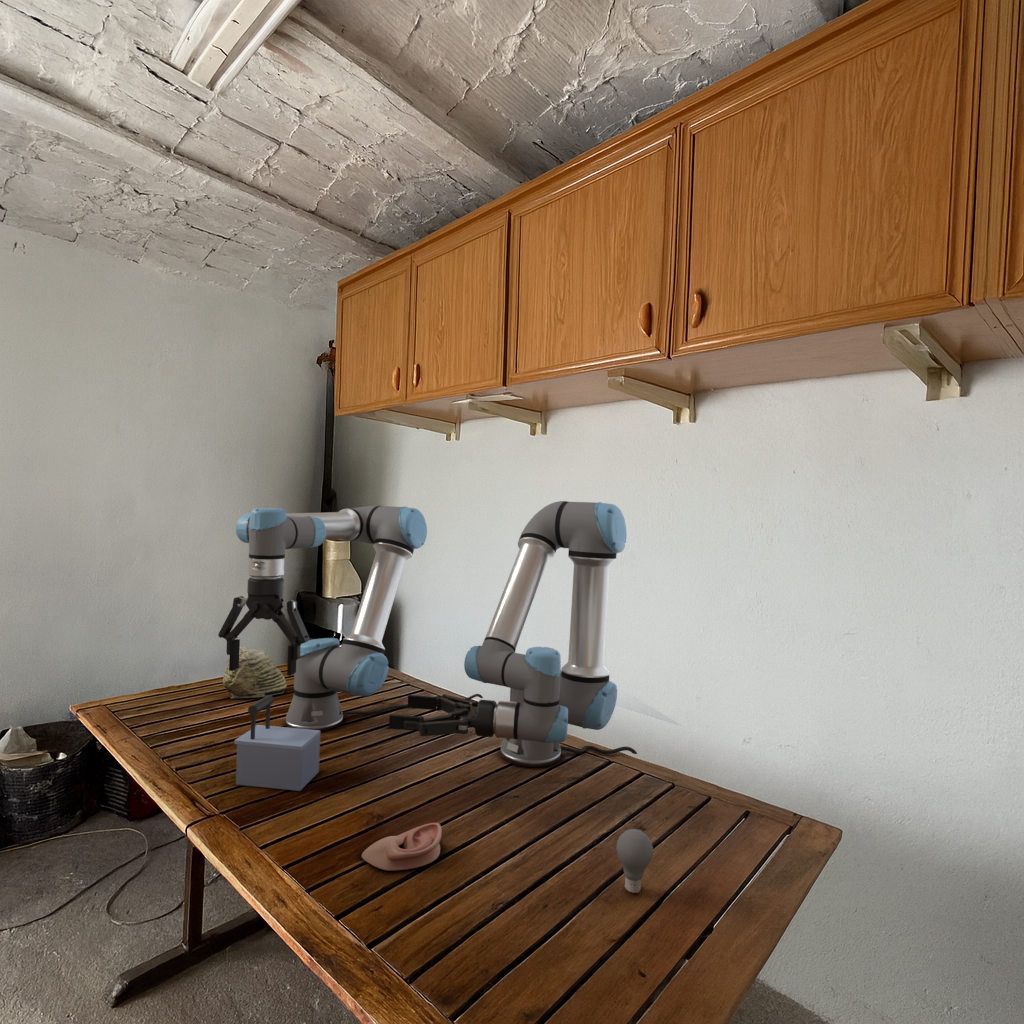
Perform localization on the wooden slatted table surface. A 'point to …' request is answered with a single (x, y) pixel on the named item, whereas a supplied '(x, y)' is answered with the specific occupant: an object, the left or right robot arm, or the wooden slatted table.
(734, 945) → the wooden slatted table surface
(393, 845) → the anatomical model
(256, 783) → the chest
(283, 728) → the lid
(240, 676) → the fossil
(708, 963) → the wooden slatted table surface
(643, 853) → the light bulb
